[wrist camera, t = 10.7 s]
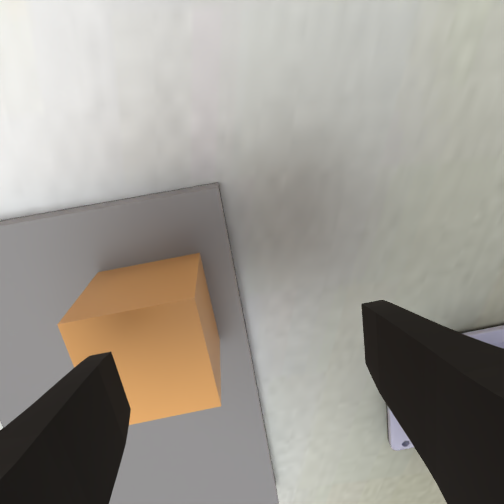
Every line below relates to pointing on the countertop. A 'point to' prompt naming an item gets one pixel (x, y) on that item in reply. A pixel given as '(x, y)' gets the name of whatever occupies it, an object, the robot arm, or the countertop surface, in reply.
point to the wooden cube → (151, 335)
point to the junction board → (59, 363)
